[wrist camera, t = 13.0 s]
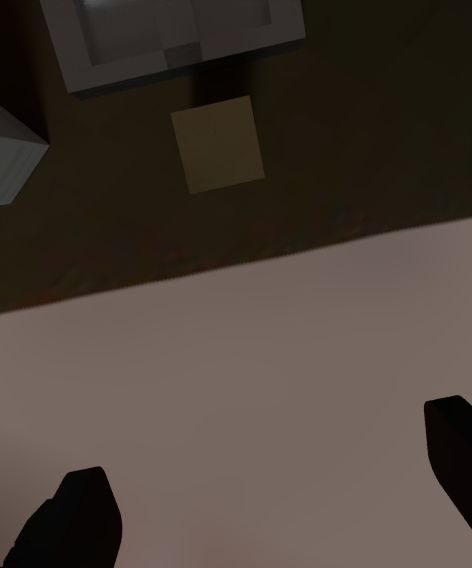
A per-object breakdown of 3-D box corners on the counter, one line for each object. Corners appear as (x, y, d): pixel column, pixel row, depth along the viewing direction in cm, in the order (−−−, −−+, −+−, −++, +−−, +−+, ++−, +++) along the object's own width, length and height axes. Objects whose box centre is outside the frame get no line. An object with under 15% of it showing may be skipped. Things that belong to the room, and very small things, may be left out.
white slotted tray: (81, 100, 34) (68, 93, 31) (47, -15, 32) (29, -34, 29) (298, 49, 34) (305, 37, 31) (280, -72, 31) (286, -97, 28)
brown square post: (200, 189, 37) (190, 194, 26) (187, 133, 35) (170, 113, 25) (253, 177, 37) (264, 177, 26) (242, 120, 35) (249, 95, 24)
